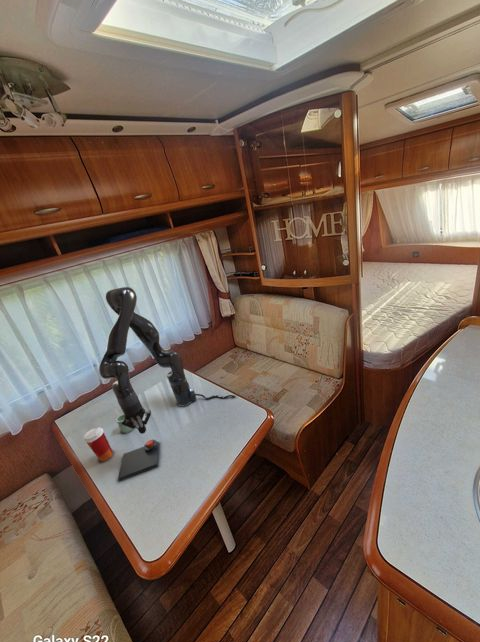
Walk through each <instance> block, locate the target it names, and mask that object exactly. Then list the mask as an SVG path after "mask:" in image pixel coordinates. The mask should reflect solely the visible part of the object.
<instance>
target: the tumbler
mask: <svg viewBox="0 0 480 642" xmlns="http://www.w3.org/2000/svg"><path fill="white" fill-rule="evenodd" d="M124 418H125V415H124V413H122V414H120V415H119V416H117V417H116V419H115V421H116V423H117V425H118V427H119V429H120V430H121V432H122V433H123V434H128V433H130V432H132V430H133V429H132V428H130V427H127V426H125V425H122V420H123V419H124ZM128 421H129V420H128Z"/></svg>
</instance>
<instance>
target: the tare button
mask: <svg viewBox="0 0 480 642" xmlns="http://www.w3.org/2000/svg"><path fill="white" fill-rule="evenodd" d="M152 440H153V439H149V440H147V441H146V442H145V444H146V446H147V447H148V448H149V447H152V446H153V444H154V443H153V441H152Z"/></svg>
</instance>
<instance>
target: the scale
mask: <svg viewBox="0 0 480 642" xmlns="http://www.w3.org/2000/svg"><path fill="white" fill-rule="evenodd" d="M151 440H152V441H153V443H154V444H153V446H152V447H149V448H148V447H147V446H146V443H145V444H144V445H143V446H141V447H139V448H136V449H133V450H130V451H128V452H124V453H123V455H122V459H121V464H120V468H119V469H120V470H119V474H118V477H117V479H118V481H119V482H120V481H123V480H126V479H129V478H130V477H131V478H132V477H134V476H136V475H140V474H142V473H144V472H147V471H150V470H153V469H156V468H158V467H159V456H160V442H159V441H157V440H156V439H151Z"/></svg>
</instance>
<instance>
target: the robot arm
mask: <svg viewBox="0 0 480 642" xmlns="http://www.w3.org/2000/svg"><path fill="white" fill-rule="evenodd" d="M105 301H106V304H107V305H108V306H109V308H110V309H111V310H112V311H113V312H114V313H115V314H116V315H117V316H118V317H117V318H116V321H115V322H114V324H113V326H112V327H111V329H110V331H109V333H108V336H107V343H106V350H105V352H104V354H103V356H102V359H101V361H100V363H99V366H98V373H99V375H100V377H101V378H102V379H104V380H105V379H106V380H110V379H111V380H113V379H116V381H115V382H113V384H112V385H111V390H112V392H113V393H114V395H115V397H116V401H117V403H118V405H119V407H120V409H121V411H122V414H124V415H125V418H124V419H123V420H122V425H125V426H127V427H130V428H132V430H133V429H137V430H138V432H139V434H141V435H143V434H145V433H146V432H147V426H146V425H148V422H149V420H150V418H151V415H152V411H151V410H150V409H149V410H146V409H145V408H144V407H143V405H142V402H141V400H140V398H139V395H138V394H137V392H136V391H135V389H134V387H133V385H132V383H131V376H130V368H129V366H128V363H126V362H125V361H123V360H118V358H119V357H122V356H124V355H125V354H126V352H127V351H126V349H127V342H128V336H129V335H128V334H129V329H130V330H131V331H132V332H133V333H134V335H135V336H136V337H137V338H138V339H139V341H140V342H141V343H142V344H143V345H144V346H145V347H146V349H147V350H148V351H149V353H150V354H151V356H152V357H153V358H154V359H153V360H155V362H156V363H157V365H158V366H159V367H160V368H162V369H170V371H169V372H167V374H166V378H167V381H168V384H169V385H170V388H171V390H172V393H173V395H174V399H175V401H176V404H177V406H179V407H186V406H188V405H190V404H191V403H193V402H194V400H196V399H197V397H201V398H203V399H204V398H206V399H205V400H211V399H214V398H219V399H228V398H233V399H234V398H236V395H233V394H228V395H225V396H221V397H218V396H219V395H216V396H215V395H212V396H210V397H206V395H204V394H202V393H201V394H200V393H196V392H195V390H192V389H191V386H190V383H189V382H188V379H187V376H186V374H185V368H184V364H183V360H182V357H181V355H180V353H179V352H178V351H177V350H165V349H164V348H163V347H162V346H161V344H160V332H159V331H158V329H157V327H156V326H155V325H154V324H153V323H152V321H150V320H149V319H147V318H146V317H144V316H142V315H140V314H139V313H138V312H135V309H136V306H137V301H138V297H137V293H136V291H135V290H134V289H133V288H132V287H129V286H124V287H119V288H113V289H110V290H108V291H106V293H105ZM230 396H231V397H230ZM223 397H224V398H223ZM144 416H145V418H144ZM128 420H129V421H128Z"/></svg>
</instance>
